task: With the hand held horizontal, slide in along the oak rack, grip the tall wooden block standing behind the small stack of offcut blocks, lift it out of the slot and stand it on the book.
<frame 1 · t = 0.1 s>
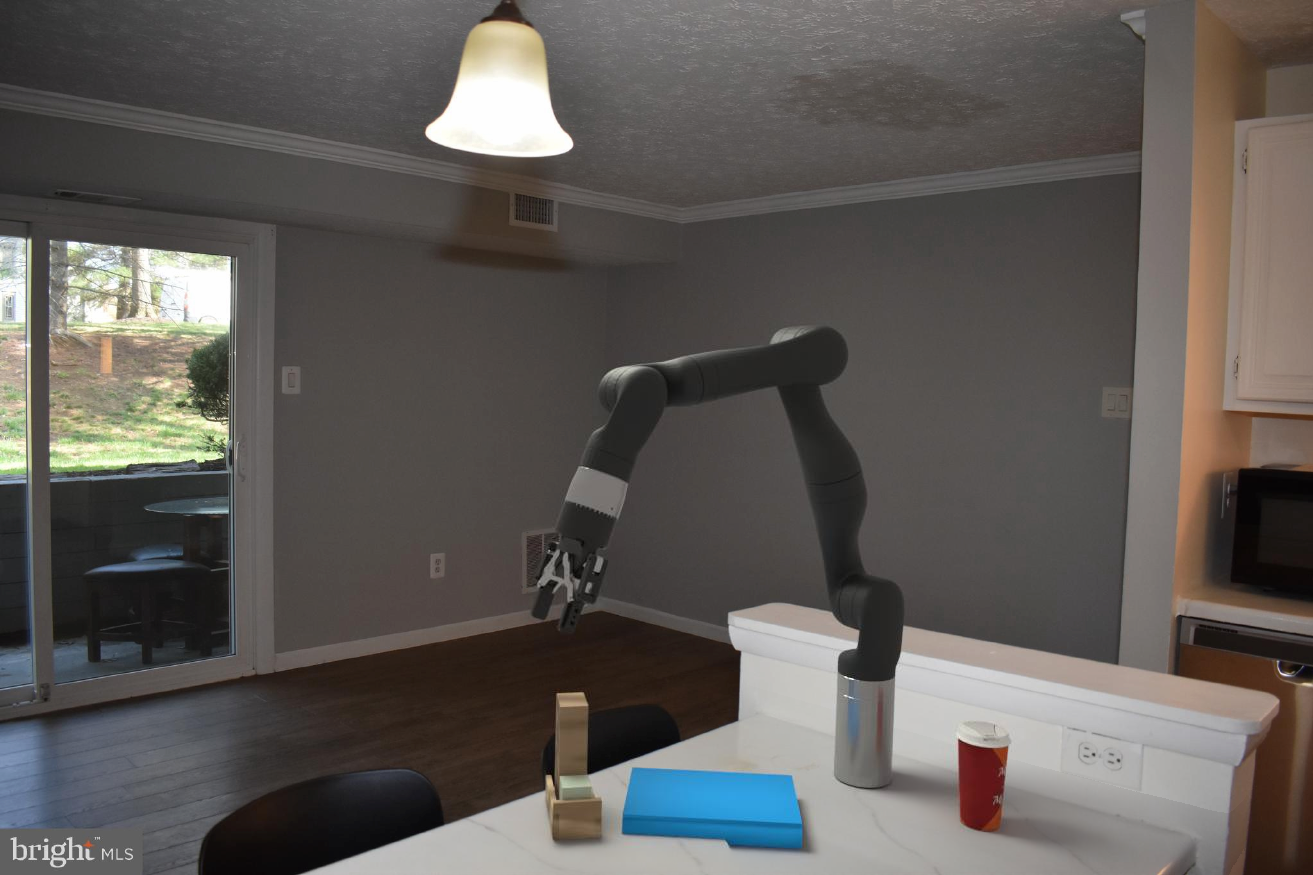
hand: (550, 625, 120), 31 cm above the worktop, tool tilted 20°, fingers open, 8 cm apart
offcut upper: (574, 802, 129), point 4 cm above the worktop, touching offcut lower
rack: (571, 823, 132), on the worktop
book: (711, 821, 135), on the worktop
tall wooden block: (569, 807, 135), point 1 cm above the worktop, touching rack
paper cup: (979, 823, 136), on the worktop
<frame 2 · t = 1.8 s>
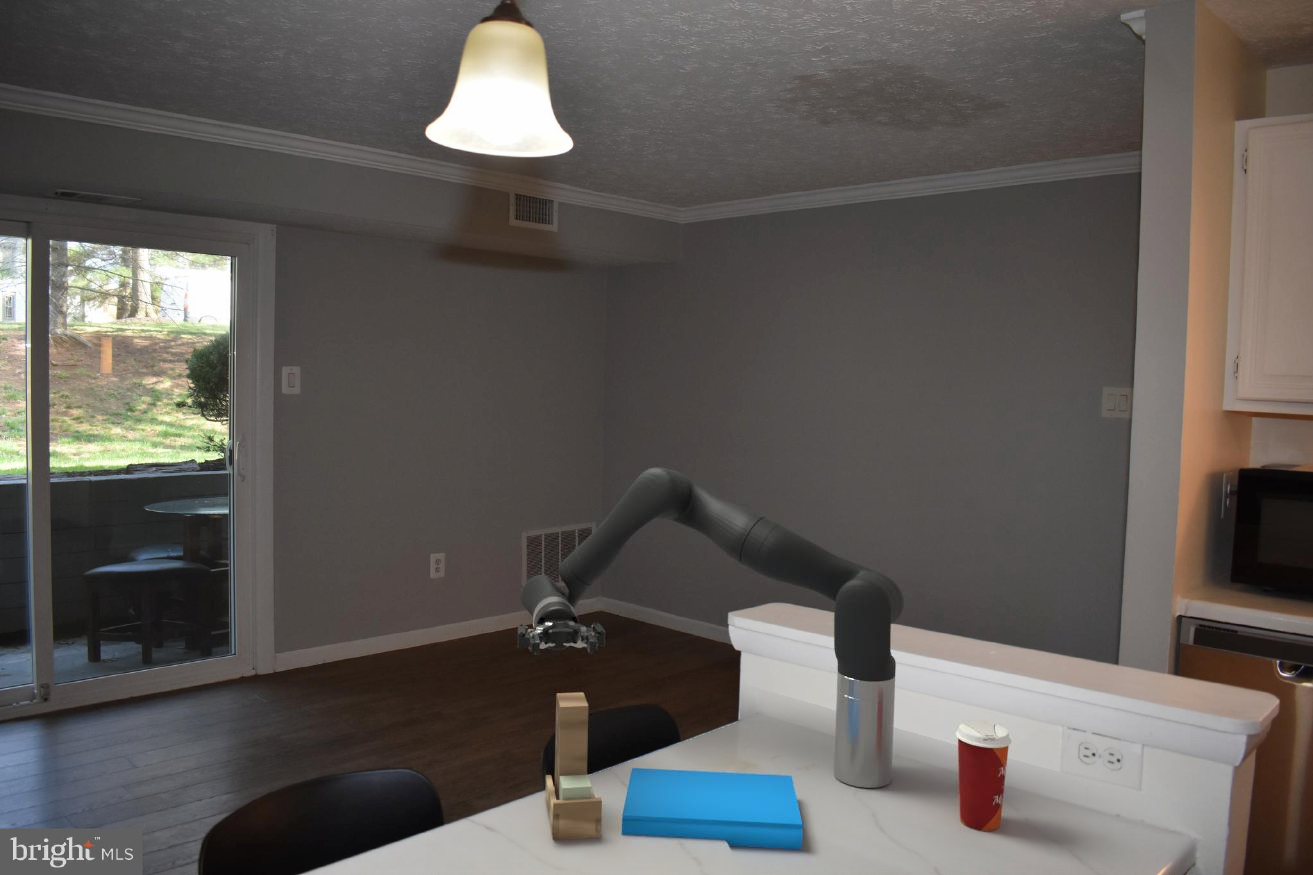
hand: (565, 647, 145), 22 cm above the worktop, tool horizontal, fingers open, 8 cm apart
nothing on the worktop moved.
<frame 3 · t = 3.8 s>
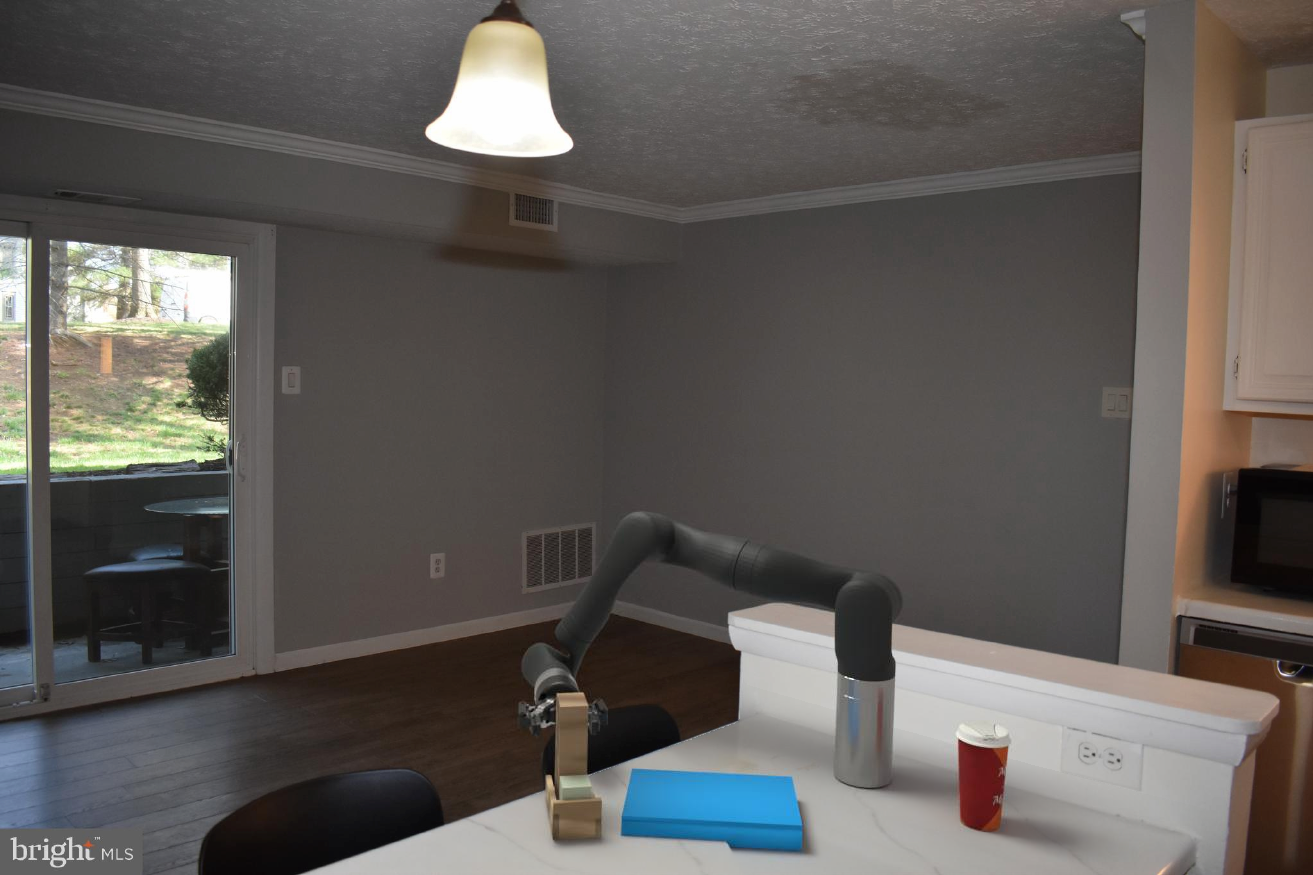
hand: (566, 729, 142), 10 cm above the worktop, tool horizontal, fingers open, 8 cm apart
nothing on the worktop moved.
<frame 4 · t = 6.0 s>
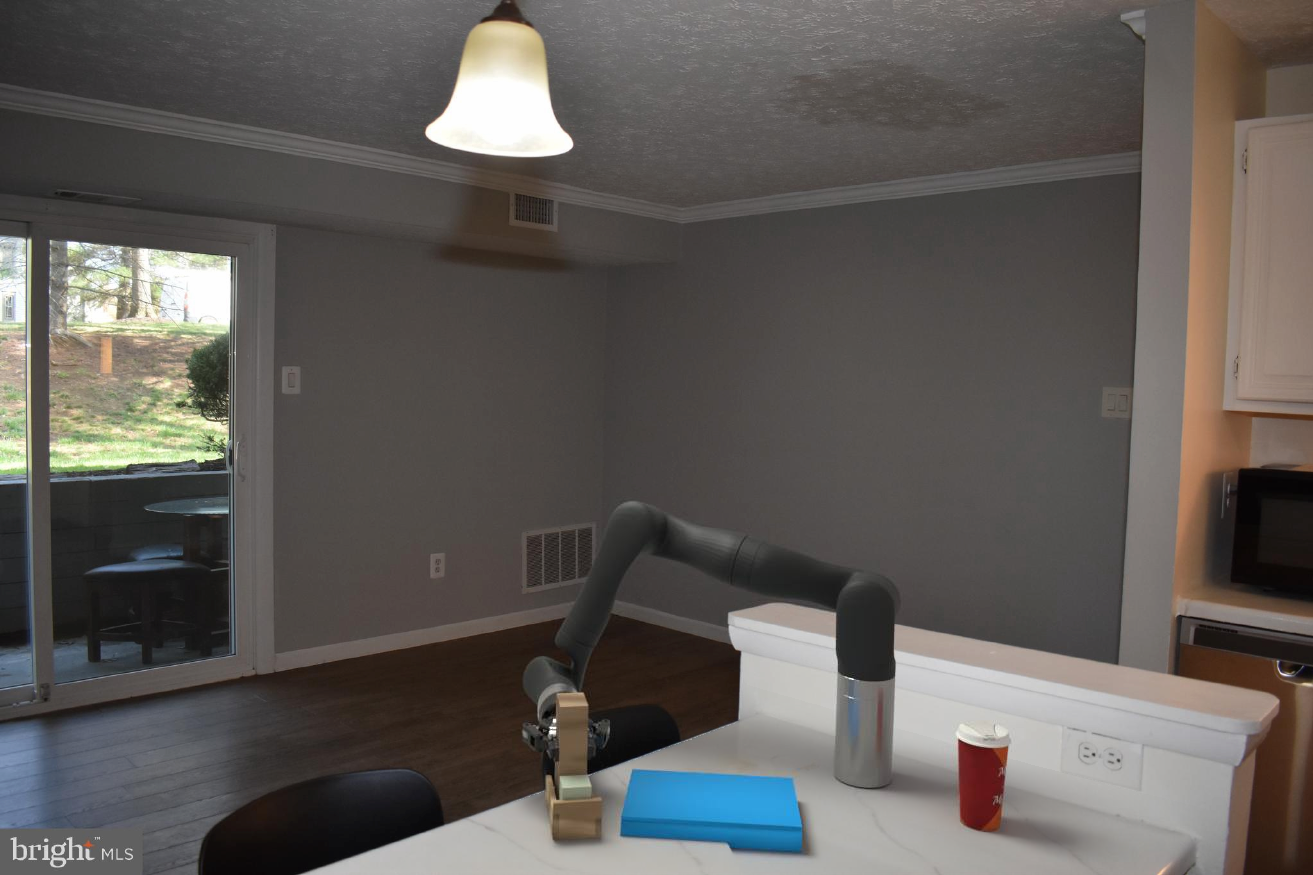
hand: (573, 753, 132), 10 cm above the worktop, tool horizontal, fingers closed on tall wooden block, 4 cm apart
tall wooden block: (569, 807, 135), point 1 cm above the worktop, touching gripper, rack
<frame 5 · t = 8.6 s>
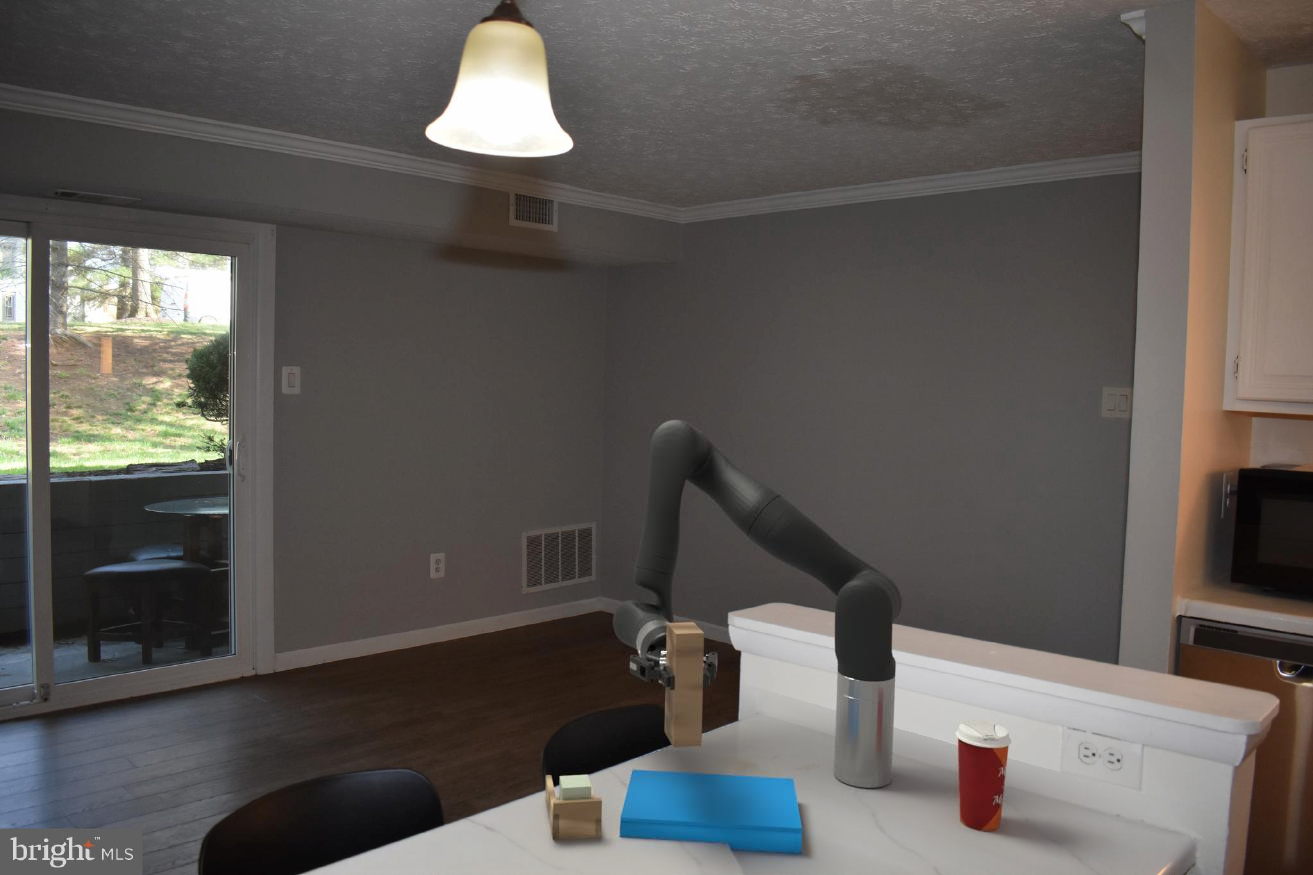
hand: (688, 682, 129), 22 cm above the worktop, tool horizontal, fingers closed on tall wooden block, 4 cm apart
tall wooden block: (682, 738, 132), point 13 cm above the worktop, touching gripper
when the fingers open (14 cm above the worktop, at t = 11.0 s): tall wooden block drops 2 cm, point 3 cm above the worktop.
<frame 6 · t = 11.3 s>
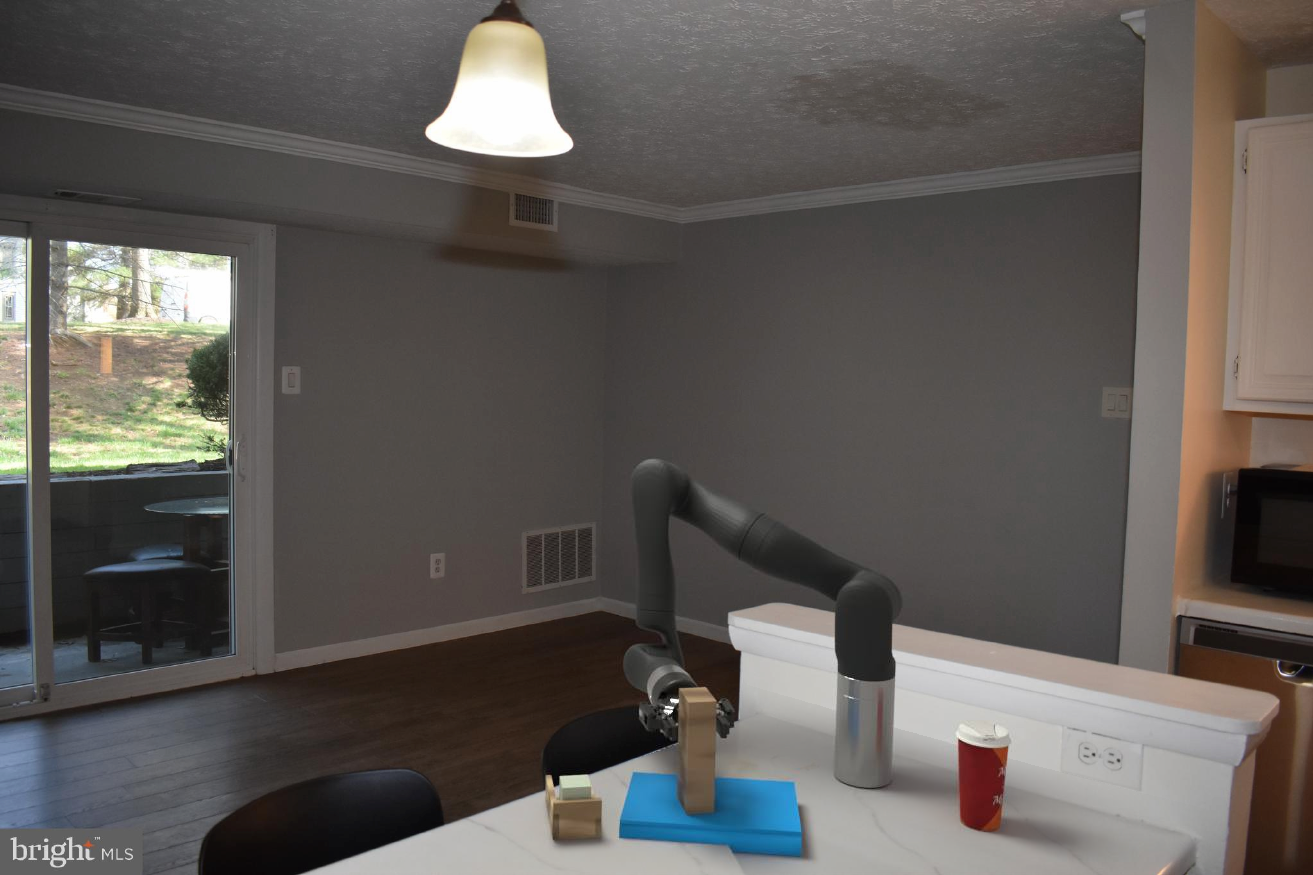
hand: (699, 732, 129), 14 cm above the worktop, tool horizontal, fingers open, 6 cm apart
tall wooden block: (695, 804, 132), point 3 cm above the worktop
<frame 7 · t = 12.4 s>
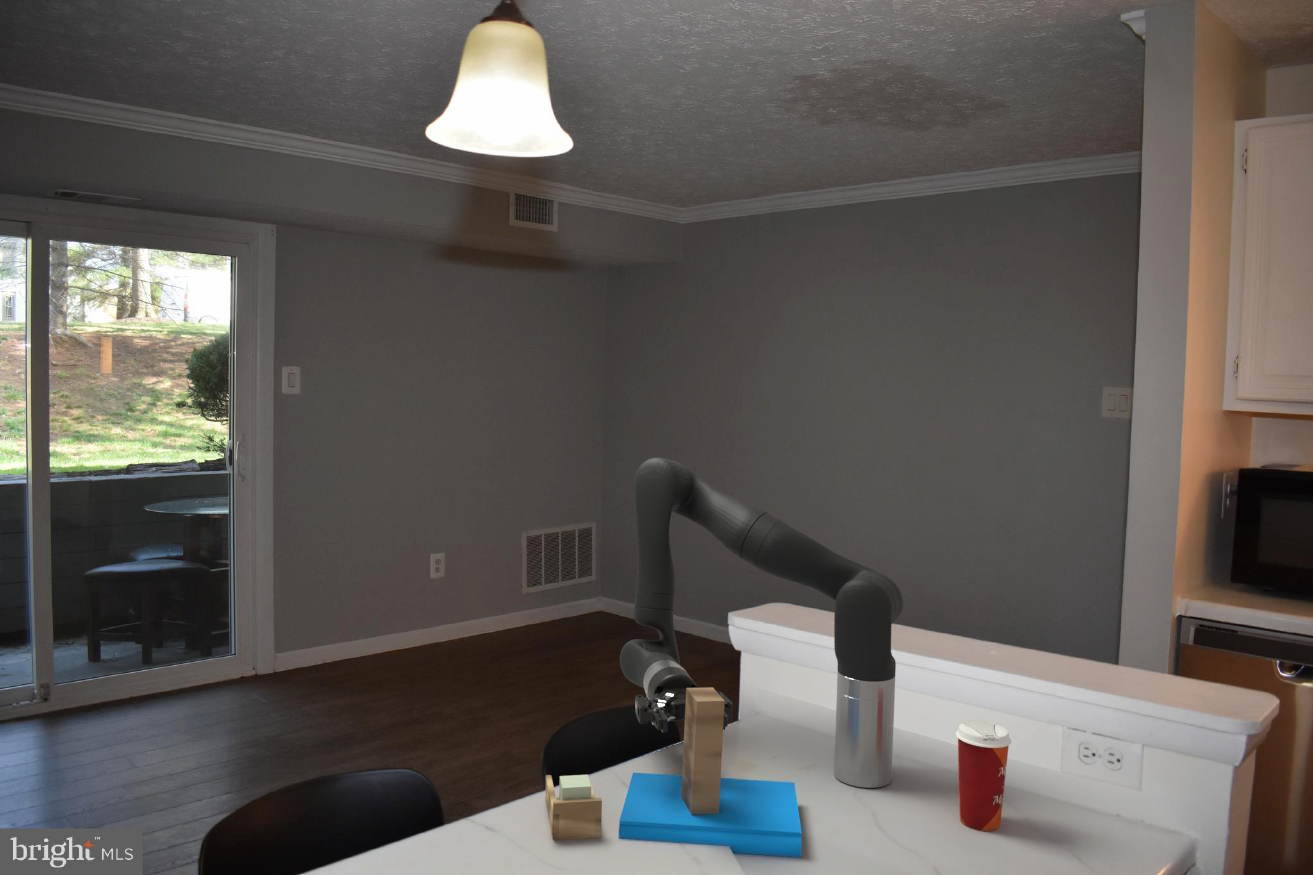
hand: (694, 724, 132), 14 cm above the worktop, tool horizontal, fingers open, 8 cm apart
book: (710, 829, 133), on the worktop, touching tall wooden block
tall wooden block: (699, 804, 132), point 3 cm above the worktop, touching book
everything else where it was.
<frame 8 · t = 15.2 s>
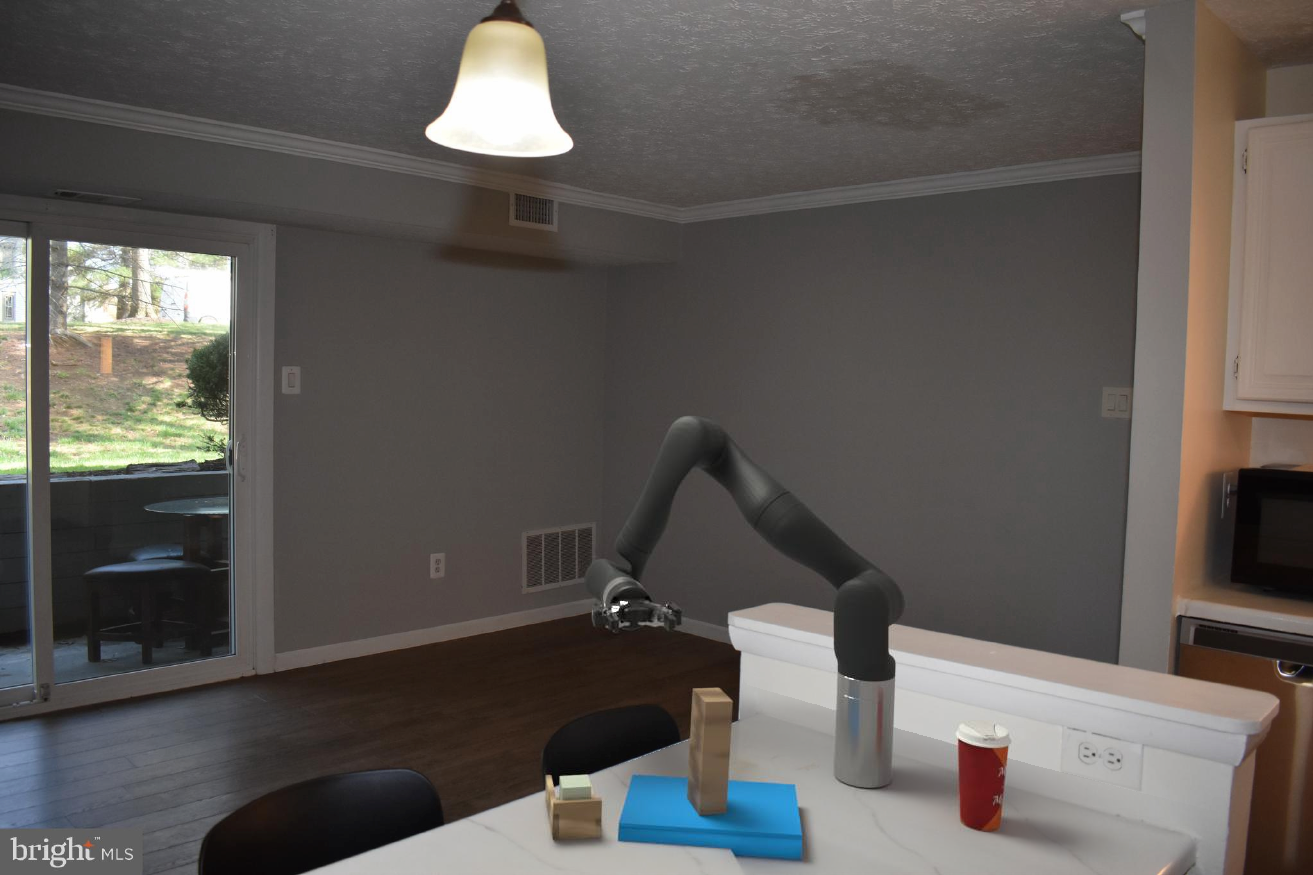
hand: (644, 625, 142), 26 cm above the worktop, tool horizontal, fingers open, 8 cm apart
at the end: tall wooden block inside the target area (1.8 cm from its centre), point 3.2 cm above the worktop; tall wooden block tilted 2°; the gripper is holding nothing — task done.
